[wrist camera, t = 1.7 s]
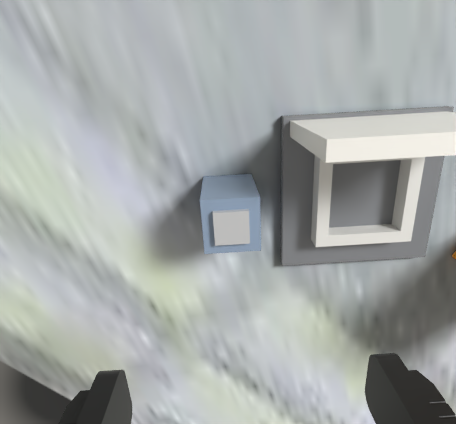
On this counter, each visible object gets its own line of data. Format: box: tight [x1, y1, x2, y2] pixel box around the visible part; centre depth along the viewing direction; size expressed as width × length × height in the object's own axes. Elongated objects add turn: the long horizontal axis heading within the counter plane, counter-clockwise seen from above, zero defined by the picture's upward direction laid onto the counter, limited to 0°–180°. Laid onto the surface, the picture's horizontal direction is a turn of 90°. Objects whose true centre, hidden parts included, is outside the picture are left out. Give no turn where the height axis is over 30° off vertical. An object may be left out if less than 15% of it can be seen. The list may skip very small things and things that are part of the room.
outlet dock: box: [281, 106, 456, 266], centre depth 23 cm, size 13×13×10 cm
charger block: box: [200, 174, 261, 254], centre depth 25 cm, size 4×4×6 cm
